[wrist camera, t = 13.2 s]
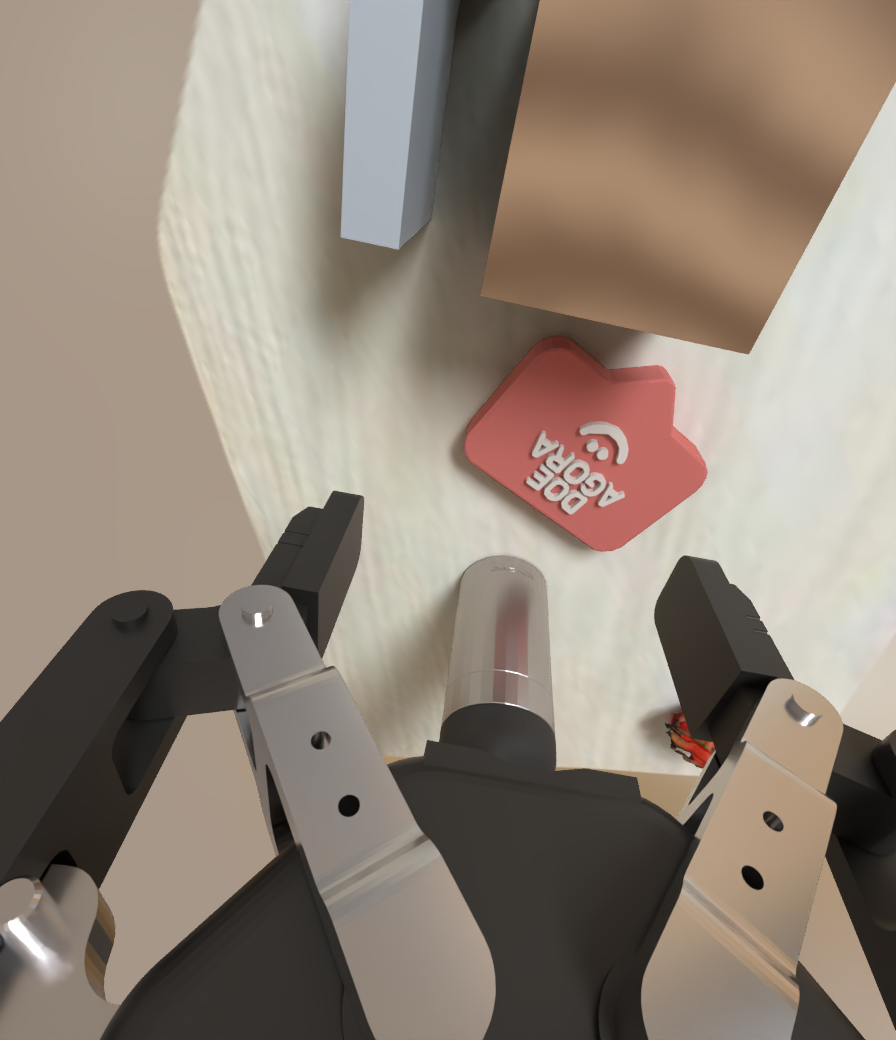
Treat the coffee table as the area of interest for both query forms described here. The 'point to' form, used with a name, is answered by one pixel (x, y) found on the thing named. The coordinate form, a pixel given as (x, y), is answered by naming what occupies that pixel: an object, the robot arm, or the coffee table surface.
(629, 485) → the plaque
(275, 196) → the coffee table surface
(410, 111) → the door
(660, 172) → the cabinet
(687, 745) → the dragon fruit
